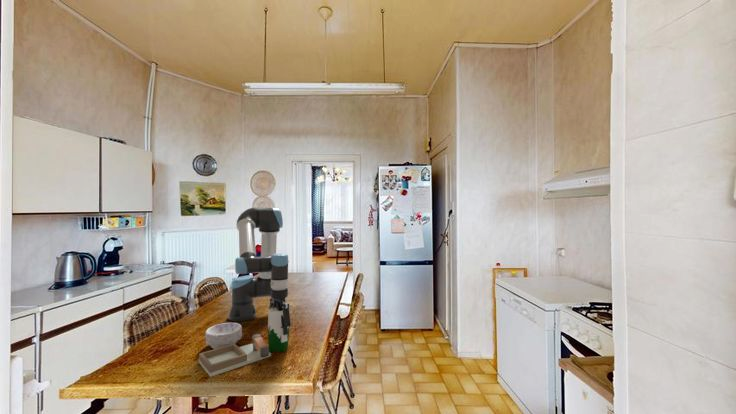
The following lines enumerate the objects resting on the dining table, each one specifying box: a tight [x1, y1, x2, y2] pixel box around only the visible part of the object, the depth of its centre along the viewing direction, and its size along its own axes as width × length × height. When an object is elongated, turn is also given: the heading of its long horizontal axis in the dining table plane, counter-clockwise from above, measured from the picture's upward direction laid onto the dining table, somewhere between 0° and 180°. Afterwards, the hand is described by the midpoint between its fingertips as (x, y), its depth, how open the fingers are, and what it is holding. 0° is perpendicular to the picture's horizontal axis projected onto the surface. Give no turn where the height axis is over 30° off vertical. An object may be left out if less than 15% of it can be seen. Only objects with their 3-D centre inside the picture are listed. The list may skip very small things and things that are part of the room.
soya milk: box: [267, 306, 290, 353], centre depth 138 cm, size 9×9×20 cm
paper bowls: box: [205, 322, 243, 350], centre depth 141 cm, size 15×15×8 cm
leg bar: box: [251, 333, 269, 358], centre depth 128 cm, size 17×4×3 cm, turn 33°
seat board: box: [198, 343, 272, 378], centre depth 128 cm, size 15×24×4 cm, turn 134°
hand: (278, 338), depth 138 cm, fingers closed on soya milk, 9 cm apart
